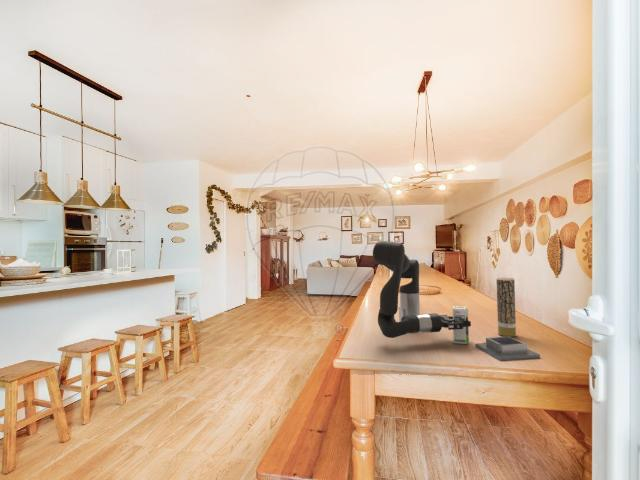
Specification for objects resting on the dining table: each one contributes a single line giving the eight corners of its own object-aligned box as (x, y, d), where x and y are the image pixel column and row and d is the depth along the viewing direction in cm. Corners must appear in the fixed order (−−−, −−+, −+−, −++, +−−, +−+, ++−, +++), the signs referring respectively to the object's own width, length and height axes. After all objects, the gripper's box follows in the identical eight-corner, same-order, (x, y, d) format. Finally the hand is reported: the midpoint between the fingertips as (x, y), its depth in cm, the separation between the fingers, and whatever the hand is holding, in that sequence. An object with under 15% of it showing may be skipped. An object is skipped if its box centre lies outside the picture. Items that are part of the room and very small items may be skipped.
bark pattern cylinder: (518, 337, 136) (516, 279, 136) (501, 337, 137) (499, 279, 138) (512, 333, 143) (510, 277, 143) (495, 332, 144) (494, 277, 144)
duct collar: (500, 360, 112) (499, 348, 112) (475, 346, 127) (475, 336, 127) (540, 358, 113) (539, 346, 113) (511, 344, 128) (510, 333, 128)
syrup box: (453, 343, 131) (452, 308, 131) (453, 339, 137) (452, 305, 137) (468, 344, 129) (468, 308, 129) (468, 340, 135) (467, 306, 135)
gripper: (434, 318, 125) (474, 316, 126) (419, 310, 139) (455, 308, 140) (435, 337, 125) (475, 335, 126) (420, 327, 139) (456, 325, 140)
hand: (464, 321), depth 133 cm, fingers closed on syrup box, 7 cm apart
